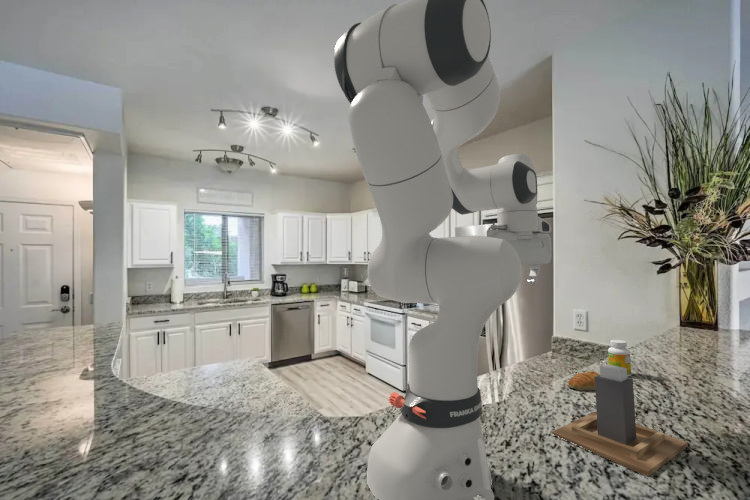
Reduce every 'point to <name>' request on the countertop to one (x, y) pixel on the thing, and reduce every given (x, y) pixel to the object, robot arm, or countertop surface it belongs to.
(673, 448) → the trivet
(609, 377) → the capped dark pillar
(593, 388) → the pastry
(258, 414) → the countertop surface
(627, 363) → the supplement bottle
